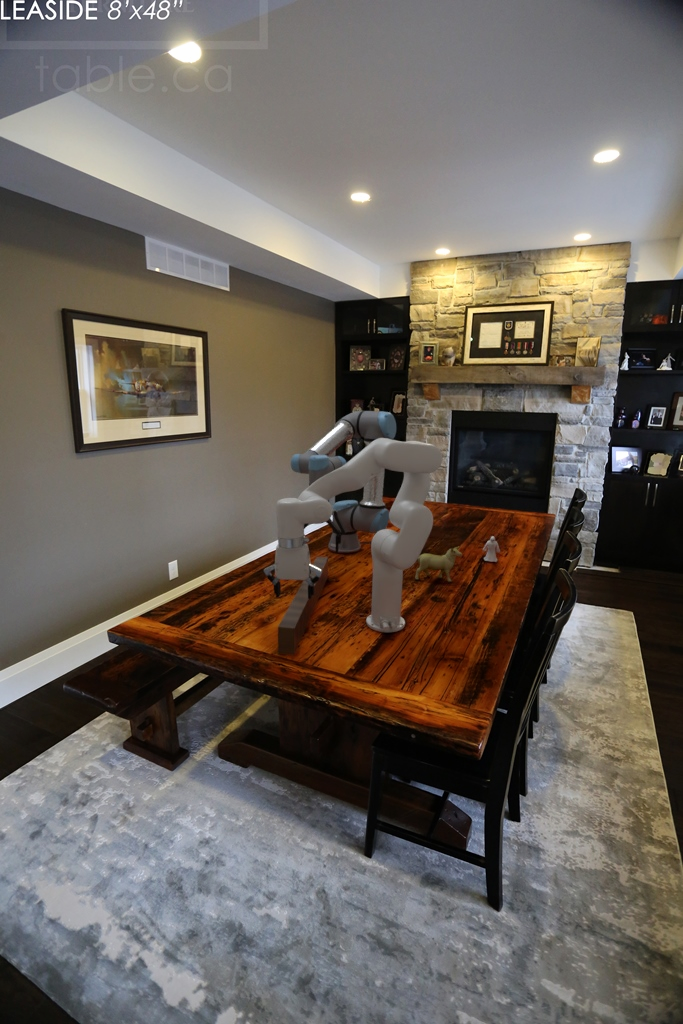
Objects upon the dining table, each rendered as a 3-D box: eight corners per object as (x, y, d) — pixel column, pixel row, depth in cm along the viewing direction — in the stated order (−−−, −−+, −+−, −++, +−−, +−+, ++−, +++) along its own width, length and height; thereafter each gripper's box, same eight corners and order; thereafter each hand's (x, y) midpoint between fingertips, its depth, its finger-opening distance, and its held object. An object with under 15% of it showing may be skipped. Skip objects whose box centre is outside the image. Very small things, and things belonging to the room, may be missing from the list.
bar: (294, 654, 143) (294, 628, 141) (278, 653, 144) (277, 626, 142) (328, 576, 202) (328, 557, 200) (316, 576, 202) (316, 556, 200)
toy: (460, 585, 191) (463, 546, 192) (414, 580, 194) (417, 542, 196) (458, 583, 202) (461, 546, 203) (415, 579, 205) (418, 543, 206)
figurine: (481, 562, 222) (483, 536, 219) (482, 556, 230) (484, 531, 227) (499, 564, 220) (501, 538, 217) (499, 558, 228) (501, 533, 225)
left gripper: (353, 495, 189) (352, 548, 194) (288, 493, 192) (290, 545, 197) (351, 500, 181) (350, 555, 187) (284, 498, 185) (285, 552, 190)
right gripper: (323, 537, 145) (325, 592, 150) (265, 536, 148) (269, 590, 152) (318, 546, 138) (321, 603, 143) (258, 545, 141) (262, 600, 145)
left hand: (319, 550), depth 192 cm, fingers open, 13 cm apart
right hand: (294, 596), depth 148 cm, fingers open, 9 cm apart
